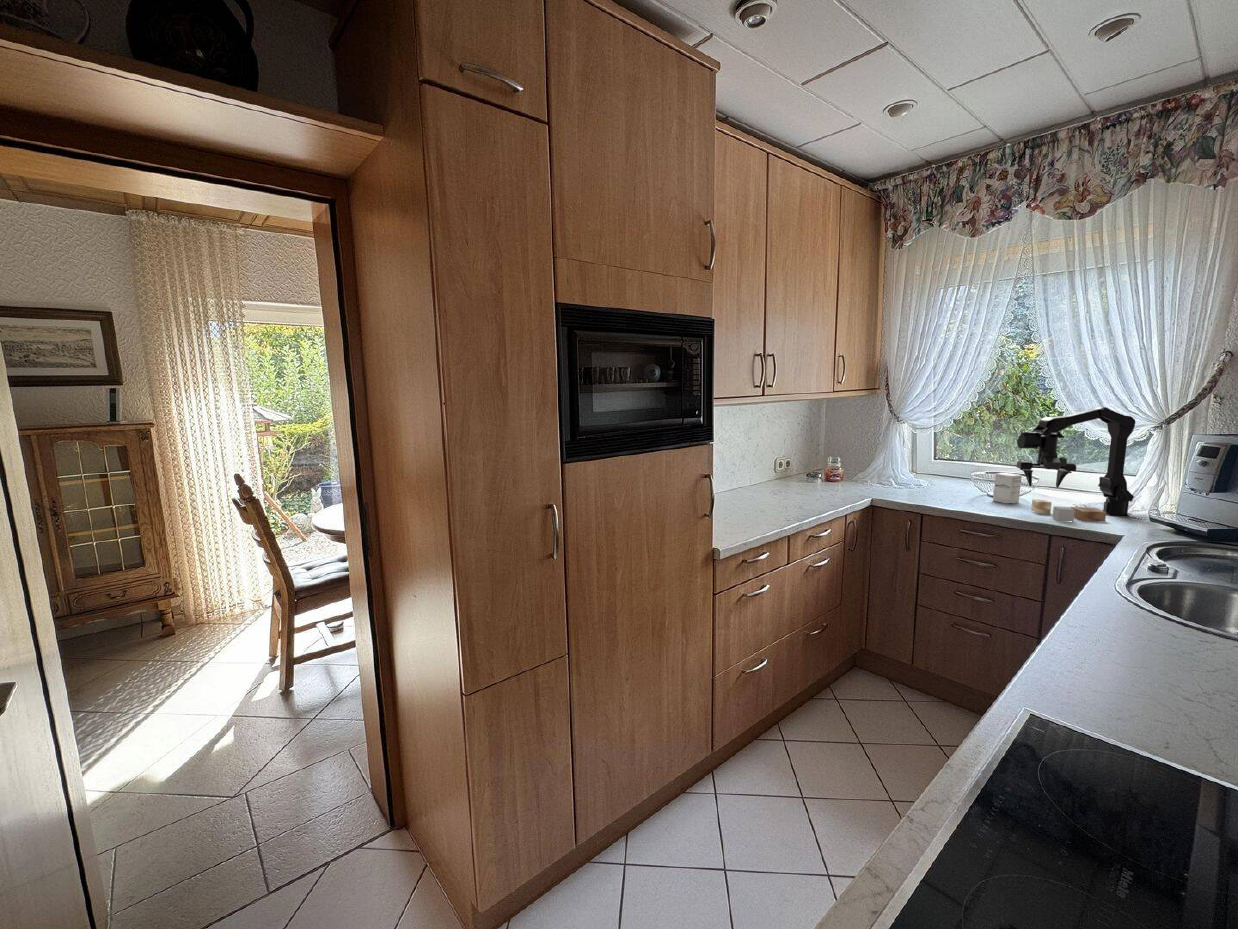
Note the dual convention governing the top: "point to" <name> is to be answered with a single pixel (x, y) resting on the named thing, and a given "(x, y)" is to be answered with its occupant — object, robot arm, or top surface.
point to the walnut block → (1089, 514)
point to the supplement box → (1007, 488)
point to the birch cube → (1041, 506)
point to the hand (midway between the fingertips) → (1043, 486)
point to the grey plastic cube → (1063, 513)
